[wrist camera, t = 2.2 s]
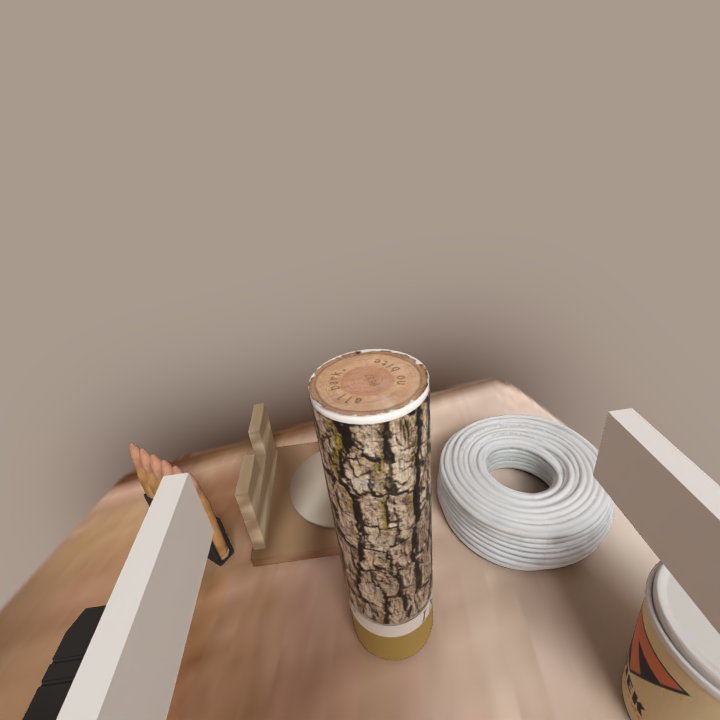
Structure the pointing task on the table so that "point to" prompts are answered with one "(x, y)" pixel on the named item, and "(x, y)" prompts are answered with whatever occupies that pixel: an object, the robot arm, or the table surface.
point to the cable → (519, 509)
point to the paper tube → (380, 491)
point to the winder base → (284, 498)
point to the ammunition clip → (155, 469)
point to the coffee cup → (672, 656)
